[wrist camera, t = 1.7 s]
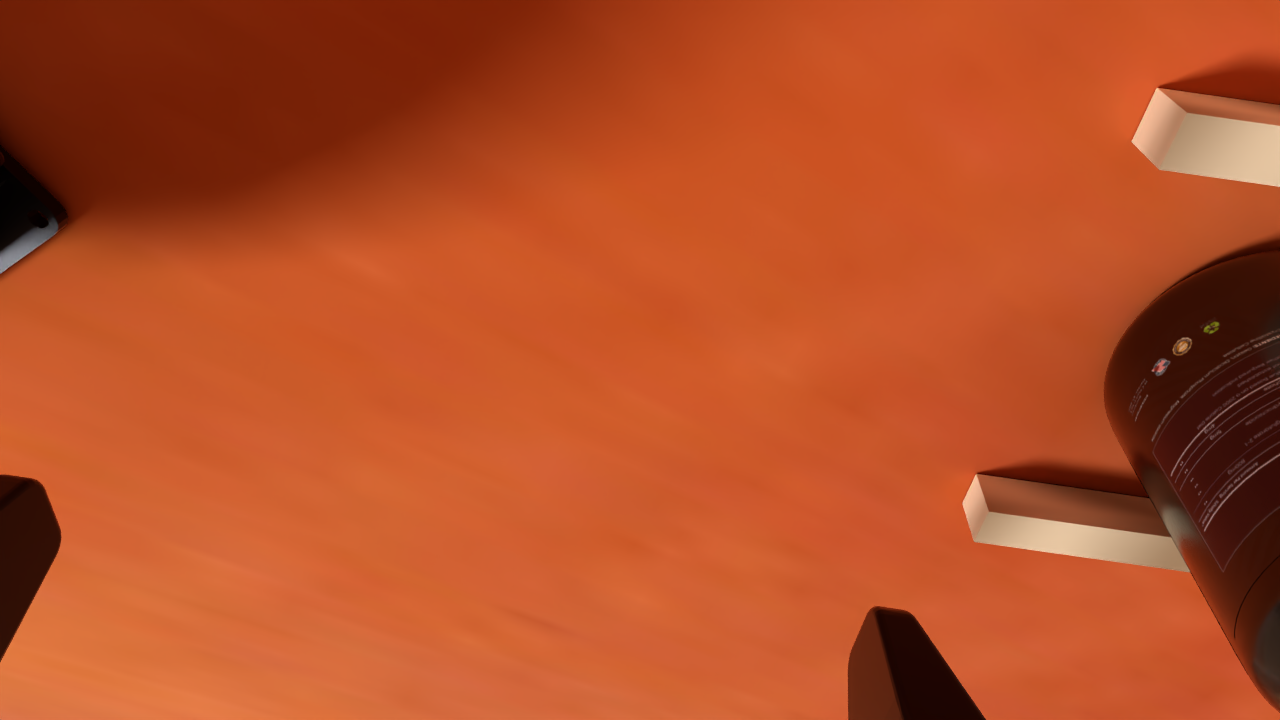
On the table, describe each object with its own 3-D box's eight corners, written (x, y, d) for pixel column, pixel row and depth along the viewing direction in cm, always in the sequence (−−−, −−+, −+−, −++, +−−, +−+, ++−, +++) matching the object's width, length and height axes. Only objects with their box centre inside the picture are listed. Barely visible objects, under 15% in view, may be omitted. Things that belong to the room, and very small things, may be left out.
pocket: (962, 503, 26) (973, 541, 24) (1157, 87, 18) (1187, 112, 17) (1339, 556, 26) (1370, 598, 24) (1683, 162, 18) (1751, 192, 17)
